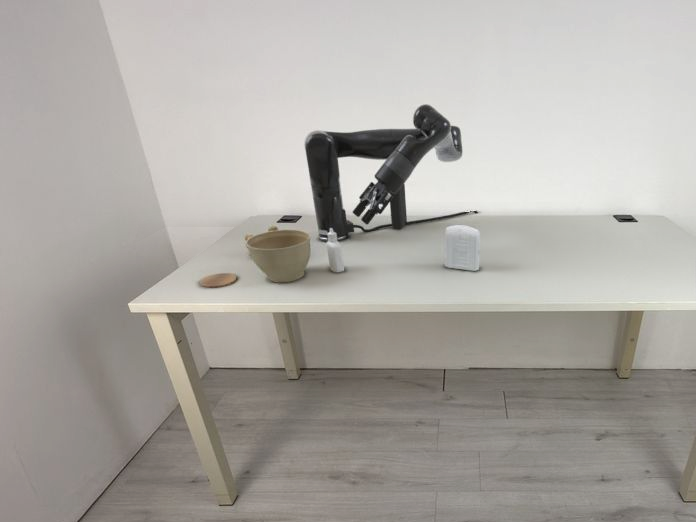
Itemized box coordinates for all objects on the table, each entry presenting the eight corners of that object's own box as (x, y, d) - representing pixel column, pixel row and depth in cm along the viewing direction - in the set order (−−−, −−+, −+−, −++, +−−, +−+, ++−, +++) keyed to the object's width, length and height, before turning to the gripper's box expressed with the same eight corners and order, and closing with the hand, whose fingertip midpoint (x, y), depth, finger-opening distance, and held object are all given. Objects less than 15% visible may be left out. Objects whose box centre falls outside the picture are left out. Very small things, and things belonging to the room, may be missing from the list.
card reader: (397, 222, 177) (394, 181, 169) (407, 222, 177) (405, 181, 169) (390, 229, 169) (387, 186, 162) (401, 230, 169) (398, 186, 161)
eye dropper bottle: (346, 265, 138) (340, 225, 132) (343, 272, 134) (337, 231, 127) (330, 266, 138) (324, 225, 132) (328, 273, 133) (321, 231, 127)
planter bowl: (254, 270, 135) (245, 233, 129) (312, 263, 140) (305, 227, 135) (256, 292, 122) (246, 251, 116) (320, 282, 127) (313, 243, 122)
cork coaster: (235, 272, 133) (234, 271, 133) (237, 283, 127) (237, 282, 126) (200, 278, 130) (199, 276, 130) (200, 289, 123) (200, 288, 123)
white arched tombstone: (481, 267, 138) (482, 225, 131) (477, 272, 134) (477, 229, 128) (448, 263, 140) (447, 222, 134) (443, 268, 137) (442, 226, 130)
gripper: (413, 186, 127) (377, 233, 129) (396, 176, 138) (362, 220, 140) (393, 167, 123) (356, 216, 124) (376, 158, 133) (342, 204, 135)
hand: (359, 218), depth 132 cm, fingers open, 8 cm apart
